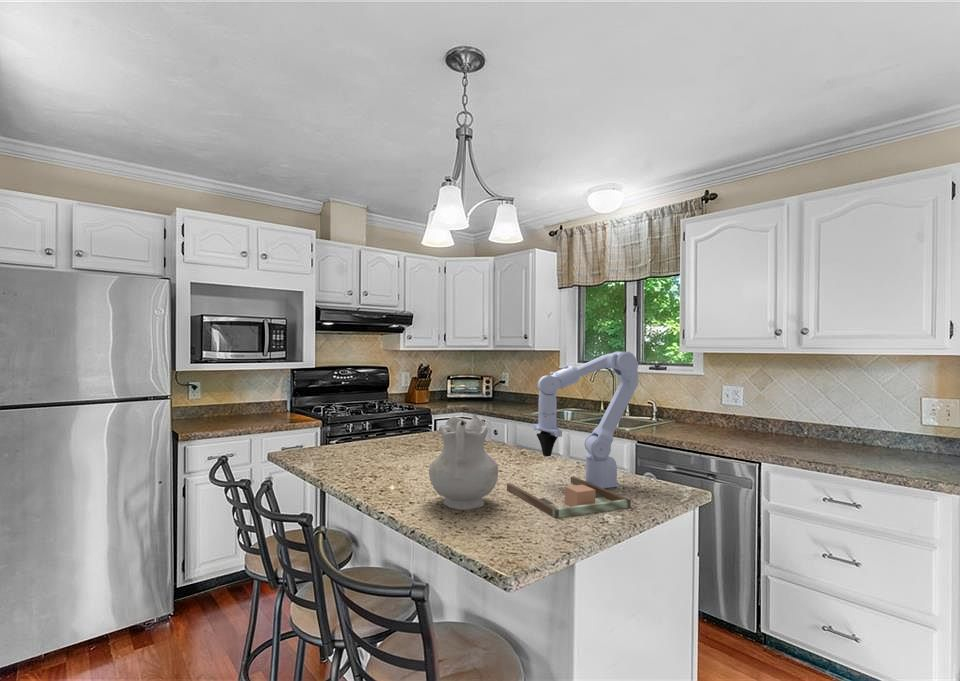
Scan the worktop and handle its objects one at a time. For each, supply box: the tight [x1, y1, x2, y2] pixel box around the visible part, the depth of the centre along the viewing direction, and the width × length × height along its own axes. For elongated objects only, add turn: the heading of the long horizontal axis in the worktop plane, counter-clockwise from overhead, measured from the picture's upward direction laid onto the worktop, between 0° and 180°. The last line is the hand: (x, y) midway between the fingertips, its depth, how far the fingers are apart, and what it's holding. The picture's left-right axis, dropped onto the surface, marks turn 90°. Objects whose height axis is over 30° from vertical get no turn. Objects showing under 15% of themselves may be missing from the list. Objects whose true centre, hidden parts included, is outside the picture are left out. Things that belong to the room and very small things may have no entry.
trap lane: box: [506, 476, 632, 519], centre depth 153 cm, size 24×28×2 cm
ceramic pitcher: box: [428, 414, 499, 511], centre depth 145 cm, size 22×20×25 cm
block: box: [564, 484, 596, 507], centre depth 146 cm, size 6×6×5 cm
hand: (547, 455), depth 166 cm, fingers closed
